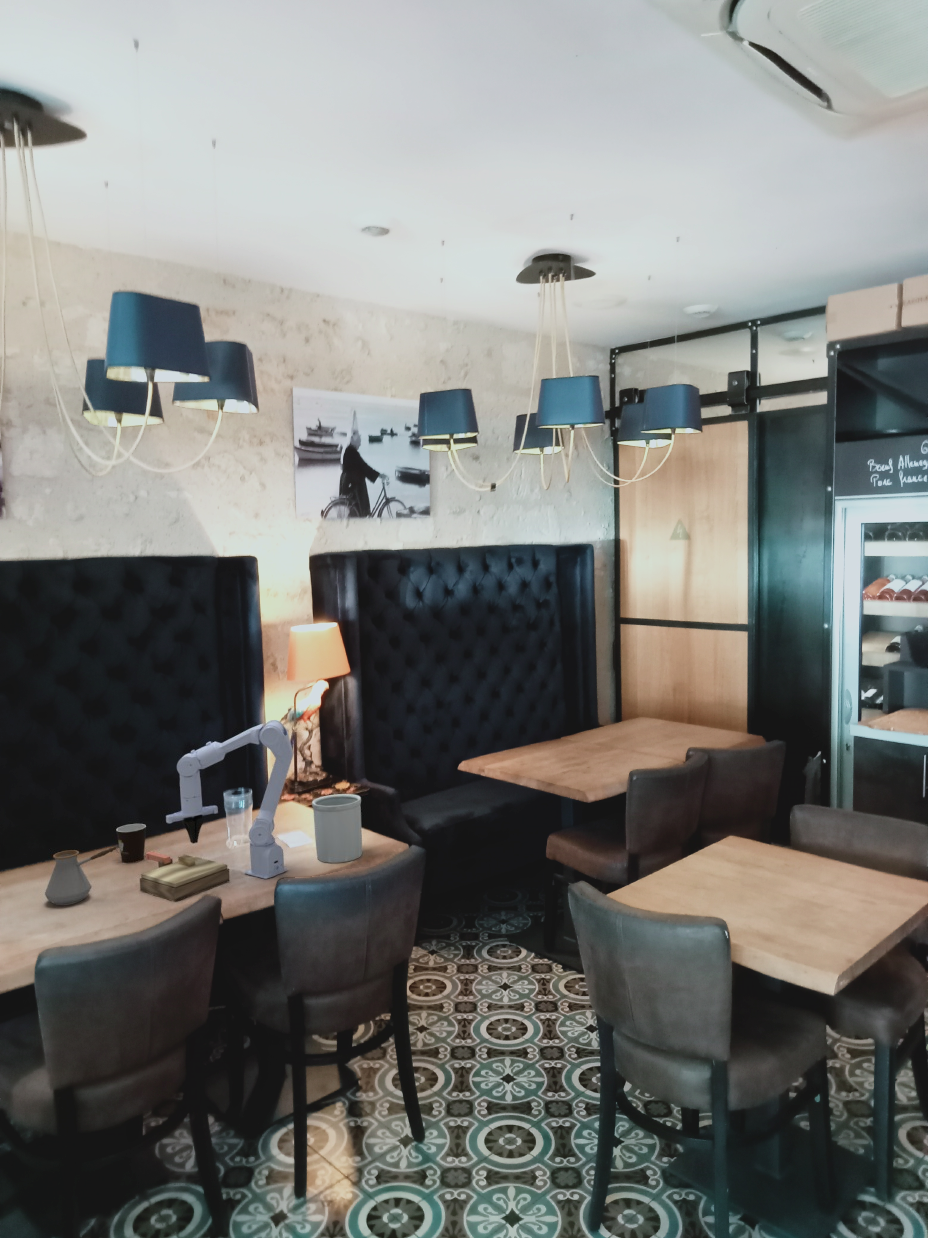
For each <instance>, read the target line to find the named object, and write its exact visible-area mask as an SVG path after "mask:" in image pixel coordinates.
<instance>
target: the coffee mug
mask: <svg viewBox="0 0 928 1238" xmlns="http://www.w3.org/2000/svg"><path fill="white" fill-rule="evenodd" d="M146 829H147V826H146V824H143V823H133V824H125V825H122V826H119V827H117V828H116V837H117V841H118V846H119V853H120V852H121V853H120V856H121V857H120V859H121V862H122V863H124V864H125V863H126V864H132V863H137V862H140V861H141V862H142V861H143V860H144V859H145V845H146V832H147V831H146ZM120 847H121V848H120ZM121 849H122V851H121Z"/></svg>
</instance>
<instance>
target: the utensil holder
mask: <svg viewBox="0 0 928 1238" xmlns="http://www.w3.org/2000/svg"><path fill="white" fill-rule="evenodd" d="M361 802H362V797H361V796H360V795H358V794H353V793H339V794H337V793H336V794H330V795H325V796H320V797H317V798H314V799H313V800H312V802H311V806H312V809H313V822H314V837H315V847H316V856H317V860H319V861H320V862H322V863H323V862H324V863H328V864H332V863H333V864H338V863H339V864H341V863H346V862H352V861H354V860H356V859H358V858H360V857H361V856H362V855H363V837H362V836H363V835H362V812H361V810H362V809H361V807H362V806H361V804H362V803H361Z"/></svg>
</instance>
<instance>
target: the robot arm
mask: <svg viewBox="0 0 928 1238" xmlns="http://www.w3.org/2000/svg"><path fill="white" fill-rule="evenodd" d="M248 744H255V745H260V744H262V745H263V746H265V747H266V748H268V750H270V752H271V753H272V755H273V756H274V758H275V760H274V763H273V766H272V770H271V772H270V777H269V779H268V783H267V785H266V790H265V792H264V795H263V799H262V802H261V804H260V808H259V811H258V814H257V817H256V818H255V819H254V820H253V822H252V826H251V827H250V828H249V831H248V839H249V854H250V855H249V856H250V869H248V870H246V871H244V874H246V875H249V876H254V877H257V878H261V879H264V880H267V879H270V878H272V877H275V876H277V875H280V874H283V873H285V872H287V868H285V859H284V850H283V848H282V846H281V845H279V844H277V843H276V838H275V836H274V835H273V834H272V833H273V832H274V830H275V820H274V818H275V817H276V812H277V808H278V804H279V802H280V799H281V795H282V793H283V788H284V785H285V782H286V780H287V776H288V773H289V771H290V770H289V769H290V766H291V763H292V759H293V757H294V751H293V746H292V743H291V740H290V737H289V731H288V729H287V728H286V726H284V724H283V723H282V722H281V721H279V720H277V719H274V720H269V721H267V722H266V723H261V724H258V725H256V726H253V727H251V728H248V729H247V730H244V731H243V732H240V733H239V734H237V735H235V736H233V737H231V738H229V739H227V740H225V741H223V742H218V741H214V742H213V741H208V742H206V744H205V745H204V746H202V747H200V748H198V749H196V750H195V749H192V750H191V751H190V752H189V753H186V754H184V755H183V756H182V757H181V758H180V759H179V760H178V761H177V764H176V770H177V772H178V774H179V787H180V788H179V790H180V794H179V795H180V806H181V810H180V811H178V812H174V813H171V814H167V815H165V821H166V823H167V824H172V823H174V822H180V821H181V823H182V825H183V826H184V828H185V830H186V831H187V835H188V837H189V838H188V839H189V841H190V843H191V844H197V843H198V841H199V835H200V832H201V829H202V826H203V824H204V822H205V817H204V816H207V815H211V814H215V815H216V814H218V813H219V811H218V809H219V808H218V806H217V805H209V806H203V799H202V798H203V797H202V786H201V785H202V784H201V777H200V776H201V775H200V770H204V769H206V768H208V767H211V766H212V765H214V764H217V763H218V762H221V761H223V760H224V758H225V756H226V755H227V754H228V753H230V752H232V751H234V750H236V749H238V748H241V747H243V746H245V745H248Z"/></svg>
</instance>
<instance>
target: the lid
mask: <svg viewBox="0 0 928 1238" xmlns="http://www.w3.org/2000/svg"><path fill="white" fill-rule="evenodd" d="M177 859H178V861H176V862H175V861H174V862H173V863H172V864H169V865H166V866H163V867H160V868H159V867H157V868H154V869H151V870H148V871H146V872H143V873H141V874H140V878H145V879H148V880H152V881H155V882H158V883H162V884H165V885H169V886H172V887H178V886H180V885H183V884H186V883H189V882H191V881H194V880H197V879H200V878H202V877H205V876H208V875H210V874H213V873H216V872H219V871H221V870H224V869H228V864H227V863H221V862H218V861H214V860H210V859H207V858H202V857H197V856H194V855H193V856H192V855H188V854H181V855H179V856H177Z"/></svg>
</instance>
